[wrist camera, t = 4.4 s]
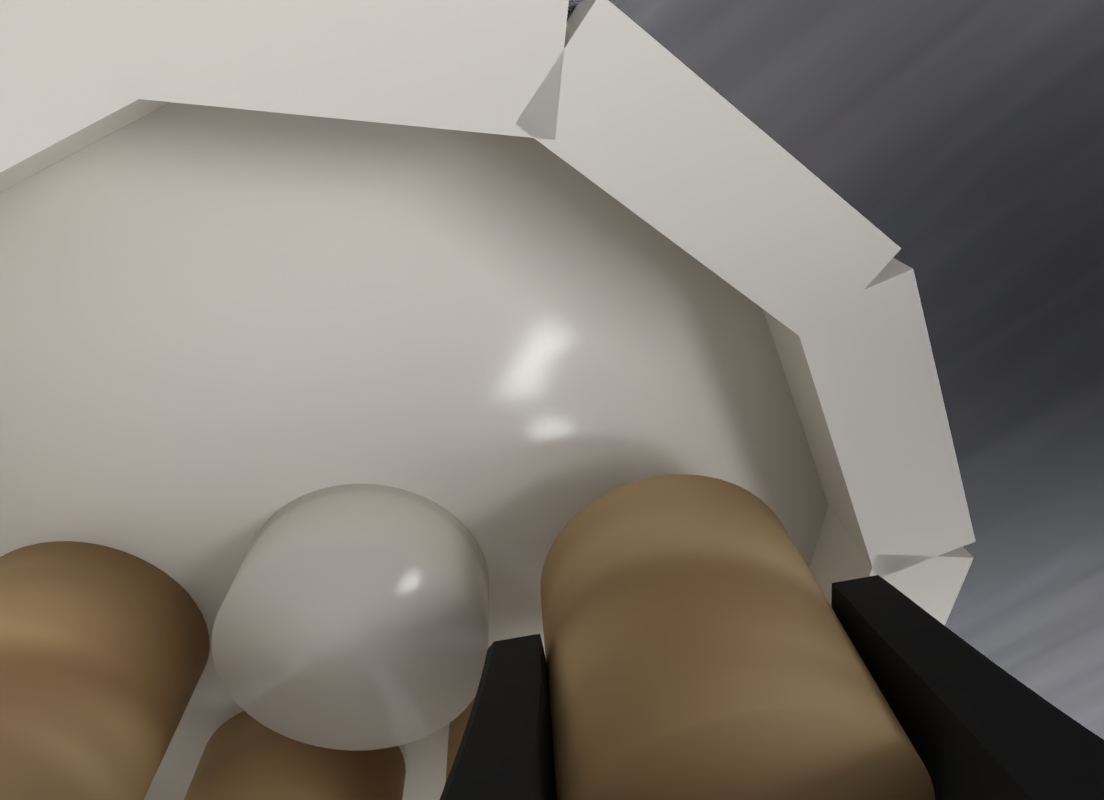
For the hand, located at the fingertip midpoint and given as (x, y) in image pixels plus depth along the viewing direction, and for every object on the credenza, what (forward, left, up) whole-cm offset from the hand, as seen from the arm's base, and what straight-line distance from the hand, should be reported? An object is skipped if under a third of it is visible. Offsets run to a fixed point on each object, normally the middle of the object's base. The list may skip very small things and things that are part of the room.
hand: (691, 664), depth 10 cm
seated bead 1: (+7, +7, -3) cm, 10 cm away
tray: (+3, +3, -3) cm, 6 cm away
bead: (0, 0, -2) cm, 2 cm away
